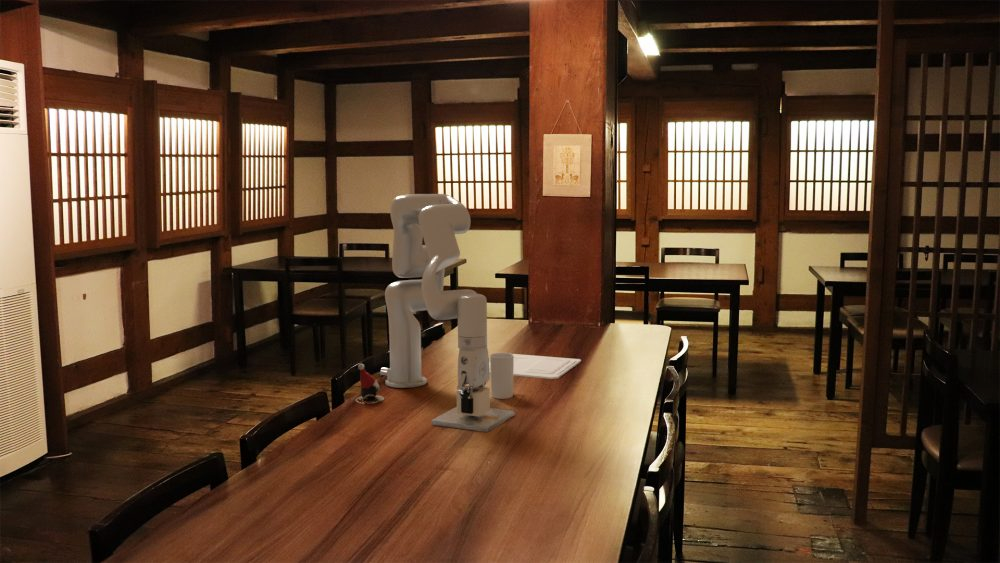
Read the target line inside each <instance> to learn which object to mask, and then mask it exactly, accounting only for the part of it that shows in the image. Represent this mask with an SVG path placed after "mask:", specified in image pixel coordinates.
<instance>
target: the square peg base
mask: <svg viewBox="0 0 1000 563" xmlns="http://www.w3.org/2000/svg"><path fill="white" fill-rule="evenodd" d="M478 391H479V389H477V388H473V391H472V392H478ZM513 416H515V410H510V409H501V408H493V407H490V410H489V411H488V412H486V413H484V414H483V415H481V416H479V417H478V416H470V415H462V414H457V405H455V407H453V408H451V409H449V410H447V411H445V412H444V413H441V415H438V416H436V417H435V418H433V419H431V425H432V426H439V427H447V428H455V429H459V430H460V429H461V430H468V431H474V432H483V433H489V432H491V431H493V429H495V428H497V427H498V426H500V425H501V424H503V423H504V422H506V421H507V420H509V419H510V418H512V417H513Z"/></svg>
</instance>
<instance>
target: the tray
mask: <svg viewBox="0 0 1000 563" xmlns="http://www.w3.org/2000/svg"><path fill="white" fill-rule="evenodd" d="M512 354H513V355H514V366H513V377H521V378H522V377H523V378H535V379H544V380H546V379H547V380H557V379H560V378H561V377H562V376H563V375H565V374H566V373H568V372H569V371H570V370H571V369H573V368H574V367H576V366H577V365H579V364H580V363H581V362H582V359H580V358H568V357H554V356H545V355H544V356H543V355H534V354H533V355H531V354H530V355H529V354H518V353H512ZM489 369H490V361H489ZM490 375H491V371H490Z"/></svg>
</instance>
